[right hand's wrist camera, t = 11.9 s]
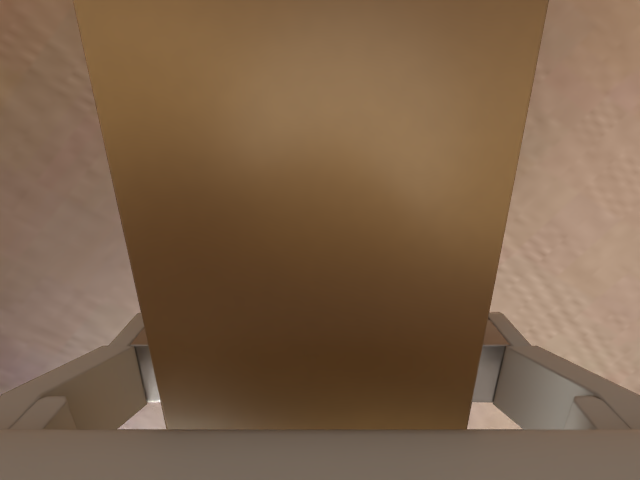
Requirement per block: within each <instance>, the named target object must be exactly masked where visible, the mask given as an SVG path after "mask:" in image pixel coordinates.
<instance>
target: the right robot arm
mask: <svg viewBox="0 0 640 480" xmlns="http://www.w3.org/2000/svg"><path fill="white" fill-rule="evenodd" d="M147 402H161V401H160V397H159V392H158V387H157V383H156V378H155V374H154V369H153V365H152V360H151V355H150V351H149V346H148V342H147V337H146V333H145V328H144V323H143V319H142V314H141V313H138V314H137V315H136V316H135V317H134V318H133V319H132V320H131V321H130V322H129V323H128V325H127V326H126V327H125V328H124V329H123V330H122V331H121V332H120V334H119V335H118V336H117V337H116V338H115V339H114V340H113V341H112V343H111V344H110V345H109V346H102V347H100V348H98V349H95V350H93V351H91V352H89V353H87V354H85V355H83V356H81V357H79V358H77V359H75V360H73V361H70V362H68V363H66V364H64V365H62V366H60V367H58V368H56V369H54V370H52V371H50V372H48V373H46V374H43V375H41V376H39V377H37V378H35V379H33V380H31V381H29V382H27V383H25V384H23V385H21V386H19V387H16V388H14V389H12V390H10V391H8V392H6V393H4V394H2V395H1V396H0V480H640V395H638V394H636V393H634V392H632V391H630V390H628V389H625V388H623V387H621V386H619V385H617V384H615V383H613V382H611V381H609V380H607V379H605V378H603V377H601V376H599V375H596V374H594V373H592V372H590V371H588V370H586V369H584V368H582V367H580V366H578V365H576V364H574V363H572V362H569V361H567V360H565V359H563V358H561V357H559V356H557V355H555V354H553V353H551V352H549V351H547V350H545V349H543V348H540V347H538V346H531V345H530V344H529V342H528V341H527V340H526V339H525V338H524V337H523V336H522V335H521V334H520V332H519V331H518V330H517V329H516V328H515V327H514V326H513V325H512V323H511V322H510V321H509V320H508V319H507V318H506V317H505V316H504V314H502V313H500V312H489V315H488V321H487V326H486V331H485V336H484V342H483V347H482V352H481V357H480V362H479V368H478V373H477V378H476V383H475V389H474V394H473V399H472V402H493V404H494V405H495V406H496V407H497V408H498V409H500V410H501V411H502V412H503V413H504V414H506V415H507V416H508V417H509V418H510V419H512V420H513V421H514V422H515V423H516V424H518V425H519V426H520V427H521V428H522V429H118V428H119V427H120V426H121V425H123V424H124V423H125V422H126V421H127V420H129V419H130V418H131V417H132V416H133V415H135V414H136V413H137V412H138V411H139V410H141V409H142V408H143V407H144V406H145V405H147Z"/></svg>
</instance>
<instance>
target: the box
mask: <svg viewBox="0 0 640 480" xmlns="http://www.w3.org/2000/svg"><path fill="white" fill-rule="evenodd" d="M548 2H549V0H73V3H74V8H75V12H76V17H77V21H78V26H79V31H80V35H81V40H82V44H83V49H84V53H85V58H86V63H87V67H88V72H89V76H90V81H91V85H92V90H93V95H94V99H95V104H96V108H97V113H98V118H99V122H100V127H101V131H102V136H103V140H104V145H105V150H106V154H107V159H108V163H109V168H110V172H111V177H112V182H113V186H114V191H115V195H116V200H117V204H118V209H119V214H120V218H121V223H122V227H123V232H124V236H125V241H126V246H127V250H128V255H129V259H130V264H131V269H132V273H133V278H134V282H135V287H136V291H137V296H138V301H139V305H140V310H141V314H142V319H143V323H144V328H145V333H146V337H147V342H148V346H149V351H150V355H151V360H152V365H153V369H154V374H155V378H156V383H157V387H158V392H159V397H160V401H161V406H162V410H163V415H164V420H165V424H166V429H467V425H468V420H469V415H470V410H471V404H472V399H473V394H474V389H475V383H476V378H477V373H478V368H479V362H480V357H481V352H482V347H483V342H484V336H485V331H486V326H487V321H488V315H489V310H490V305H491V300H492V295H493V289H494V284H495V279H496V274H497V268H498V263H499V258H500V253H501V247H502V242H503V237H504V232H505V227H506V221H507V216H508V211H509V206H510V200H511V195H512V190H513V185H514V180H515V174H516V169H517V164H518V159H519V153H520V148H521V143H522V138H523V132H524V127H525V122H526V117H527V112H528V106H529V101H530V96H531V91H532V85H533V80H534V75H535V70H536V64H537V59H538V54H539V49H540V44H541V38H542V33H543V28H544V23H545V17H546V12H547V7H548Z"/></svg>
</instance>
